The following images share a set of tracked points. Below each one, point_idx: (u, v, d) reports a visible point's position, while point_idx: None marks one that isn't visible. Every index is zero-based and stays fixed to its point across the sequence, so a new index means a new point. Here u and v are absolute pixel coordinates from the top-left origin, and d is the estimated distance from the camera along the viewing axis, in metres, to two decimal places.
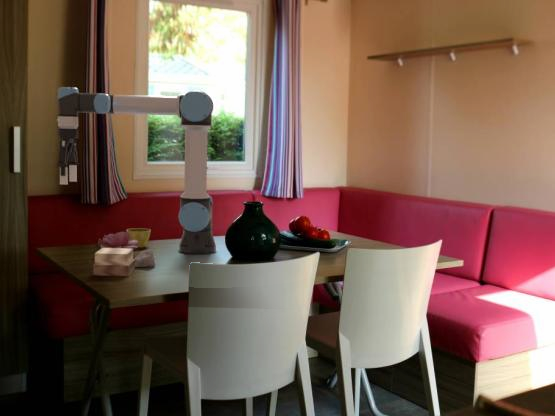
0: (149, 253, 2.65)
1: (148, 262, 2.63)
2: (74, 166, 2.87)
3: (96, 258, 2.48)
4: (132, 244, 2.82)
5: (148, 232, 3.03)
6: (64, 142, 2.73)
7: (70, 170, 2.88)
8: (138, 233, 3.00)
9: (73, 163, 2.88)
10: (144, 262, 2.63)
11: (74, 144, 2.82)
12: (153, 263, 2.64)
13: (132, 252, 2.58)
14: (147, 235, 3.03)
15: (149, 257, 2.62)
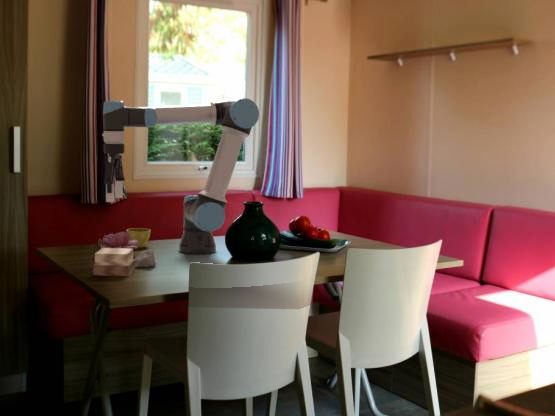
0: (150, 253, 2.65)
1: (148, 262, 2.63)
2: (120, 182, 2.77)
3: (96, 258, 2.48)
4: (132, 244, 2.82)
5: (148, 232, 3.03)
6: (110, 158, 2.63)
7: (116, 186, 2.78)
8: (138, 233, 3.00)
9: (119, 179, 2.78)
10: (144, 262, 2.63)
11: (120, 159, 2.72)
12: (154, 263, 2.64)
13: (132, 252, 2.58)
14: (147, 235, 3.03)
15: (150, 257, 2.62)
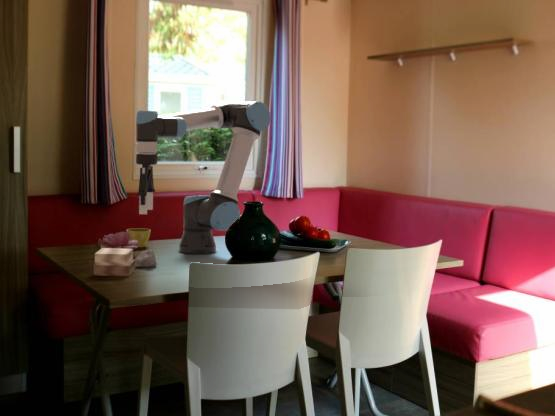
0: (150, 253, 2.65)
1: (149, 262, 2.63)
2: (150, 193, 2.71)
3: (96, 258, 2.48)
4: (132, 244, 2.82)
5: (148, 232, 3.03)
6: (144, 169, 2.56)
7: (146, 197, 2.71)
8: (138, 233, 3.00)
9: (149, 190, 2.71)
10: (145, 262, 2.63)
11: (152, 170, 2.65)
12: (154, 263, 2.64)
13: (132, 252, 2.58)
14: (147, 235, 3.03)
15: (151, 257, 2.62)
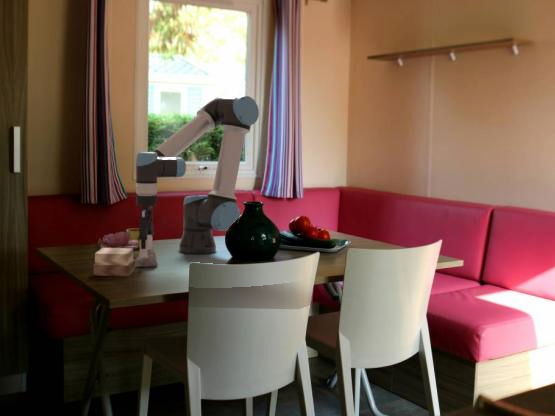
0: (151, 253, 2.65)
1: (150, 262, 2.63)
2: (150, 236, 2.71)
3: (96, 258, 2.48)
4: (132, 244, 2.82)
5: None
6: (144, 213, 2.58)
7: None
8: (138, 233, 3.00)
9: (149, 232, 2.72)
10: (146, 262, 2.63)
11: (152, 211, 2.67)
12: (155, 263, 2.64)
13: (132, 252, 2.58)
14: None
15: (151, 257, 2.62)
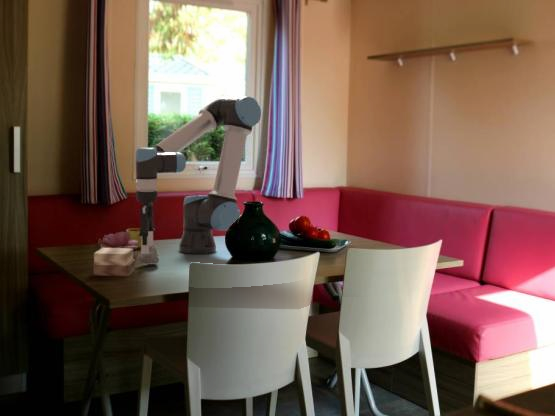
0: (152, 250, 2.65)
1: (151, 258, 2.63)
2: (150, 232, 2.71)
3: (95, 258, 2.48)
4: (132, 244, 2.82)
5: None
6: (145, 209, 2.58)
7: None
8: (138, 233, 3.00)
9: (149, 229, 2.71)
10: (147, 259, 2.63)
11: (152, 207, 2.67)
12: (157, 260, 2.64)
13: (132, 252, 2.57)
14: None
15: (152, 254, 2.62)
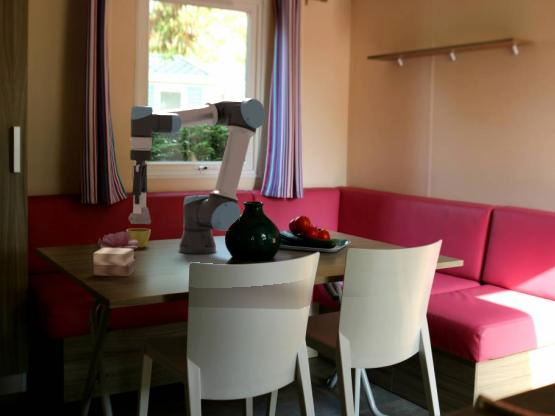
0: (145, 210, 2.60)
1: (143, 218, 2.58)
2: (144, 194, 2.66)
3: (95, 258, 2.48)
4: (132, 244, 2.82)
5: (148, 232, 3.03)
6: (138, 167, 2.54)
7: None
8: (138, 233, 3.00)
9: (142, 190, 2.67)
10: (139, 219, 2.58)
11: (146, 167, 2.62)
12: (149, 220, 2.59)
13: (132, 252, 2.57)
14: (147, 235, 3.03)
15: (145, 213, 2.57)
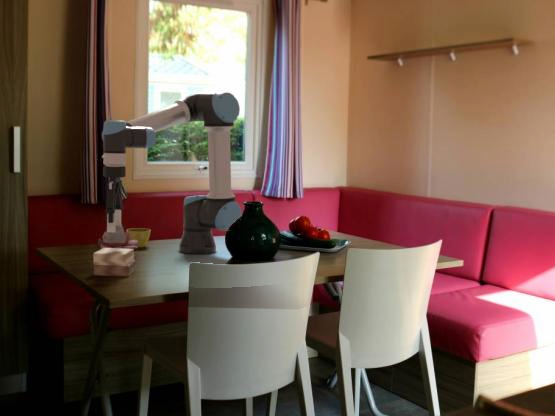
0: (119, 228, 2.50)
1: (118, 237, 2.48)
2: (118, 211, 2.56)
3: (95, 258, 2.49)
4: (132, 244, 2.82)
5: (148, 232, 3.03)
6: (111, 185, 2.44)
7: None
8: (138, 233, 3.00)
9: (117, 207, 2.57)
10: (113, 238, 2.48)
11: (121, 184, 2.52)
12: (124, 239, 2.49)
13: (132, 252, 2.57)
14: (147, 235, 3.03)
15: (119, 232, 2.47)
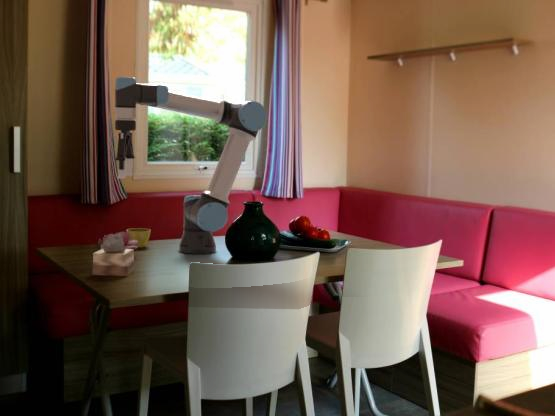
0: (119, 238, 2.52)
1: (118, 247, 2.50)
2: (130, 160, 2.76)
3: (94, 258, 2.49)
4: (132, 244, 2.82)
5: (148, 232, 3.03)
6: (123, 134, 2.62)
7: (126, 164, 2.76)
8: (138, 233, 3.00)
9: (129, 157, 2.77)
10: (113, 247, 2.50)
11: (131, 137, 2.70)
12: (123, 248, 2.51)
13: (132, 253, 2.58)
14: (147, 235, 3.03)
15: (119, 242, 2.49)
